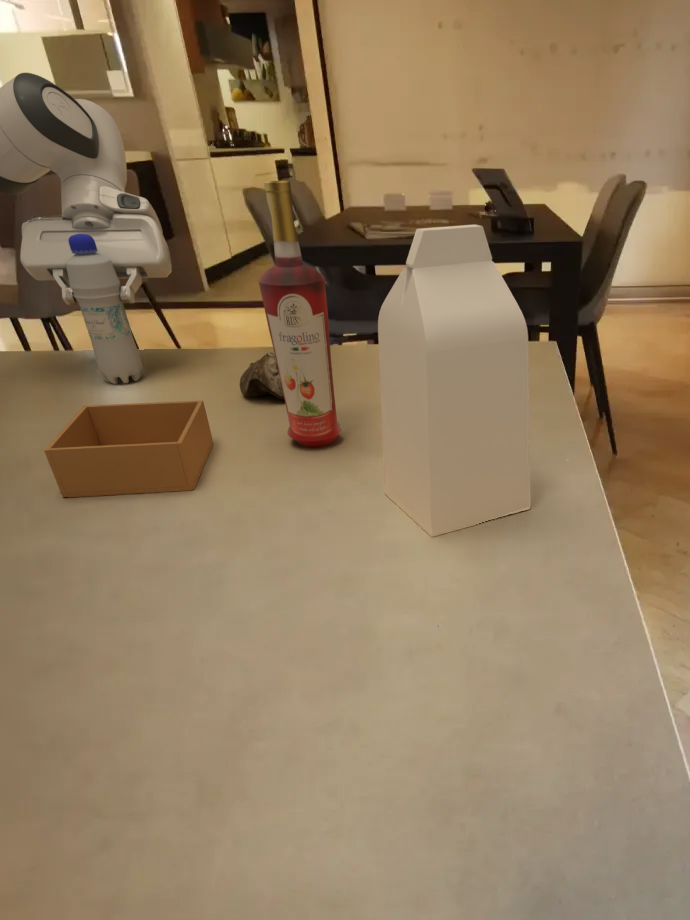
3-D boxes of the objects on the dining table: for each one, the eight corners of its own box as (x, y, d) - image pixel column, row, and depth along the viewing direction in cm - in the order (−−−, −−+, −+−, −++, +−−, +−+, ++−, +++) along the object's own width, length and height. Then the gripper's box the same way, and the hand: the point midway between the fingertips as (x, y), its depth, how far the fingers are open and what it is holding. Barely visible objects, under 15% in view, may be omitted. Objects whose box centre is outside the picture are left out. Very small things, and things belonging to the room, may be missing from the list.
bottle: (92, 384, 108) (41, 236, 96) (121, 371, 113) (77, 229, 101) (128, 388, 107) (81, 238, 95) (156, 375, 112) (116, 231, 100)
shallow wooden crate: (62, 498, 77) (43, 450, 74) (99, 449, 88) (83, 405, 85) (194, 490, 79) (181, 443, 75) (213, 443, 90) (203, 400, 86)
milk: (431, 537, 70) (417, 241, 54) (384, 493, 78) (360, 224, 62) (530, 509, 75) (544, 231, 59) (477, 471, 83) (476, 216, 67)
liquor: (286, 453, 87) (238, 185, 70) (287, 432, 93) (243, 179, 75) (345, 449, 88) (312, 184, 71) (343, 428, 94) (312, 178, 77)
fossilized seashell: (319, 376, 104) (274, 376, 109) (291, 340, 98) (245, 342, 104) (295, 415, 102) (250, 413, 107) (266, 381, 96) (220, 381, 102)
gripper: (9, 200, 100) (11, 290, 98) (158, 199, 102) (163, 286, 101) (33, 232, 106) (35, 316, 105) (173, 229, 109) (177, 312, 107)
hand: (99, 301), depth 103 cm, fingers closed on bottle, 6 cm apart
